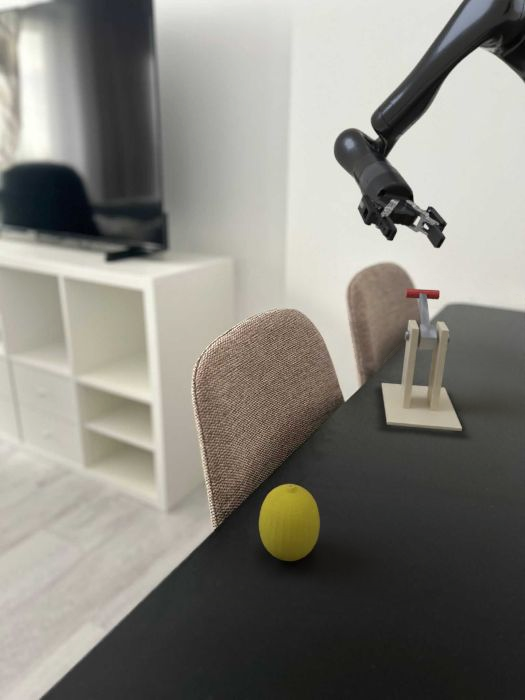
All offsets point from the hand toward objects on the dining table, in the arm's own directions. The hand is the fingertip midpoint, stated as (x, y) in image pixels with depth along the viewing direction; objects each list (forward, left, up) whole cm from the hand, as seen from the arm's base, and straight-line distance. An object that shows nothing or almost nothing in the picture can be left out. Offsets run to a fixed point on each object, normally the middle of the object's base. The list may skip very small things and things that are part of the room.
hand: (417, 239), depth 81 cm
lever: (+1, +7, -11) cm, 13 cm away
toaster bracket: (+2, +12, -24) cm, 27 cm away
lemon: (+26, +41, -24) cm, 54 cm away
